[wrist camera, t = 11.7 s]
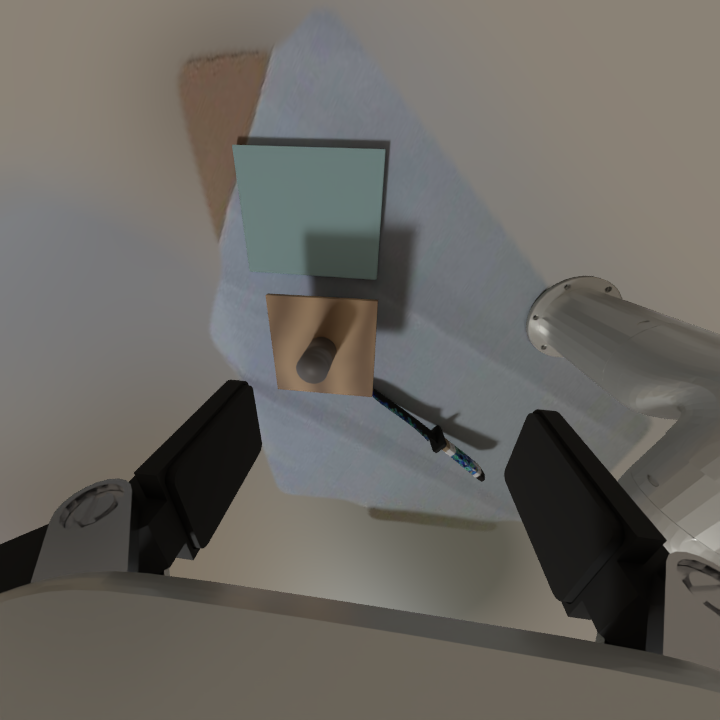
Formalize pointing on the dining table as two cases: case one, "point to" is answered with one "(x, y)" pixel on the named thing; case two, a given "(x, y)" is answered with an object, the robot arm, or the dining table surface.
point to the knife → (433, 437)
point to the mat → (311, 209)
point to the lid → (323, 343)
